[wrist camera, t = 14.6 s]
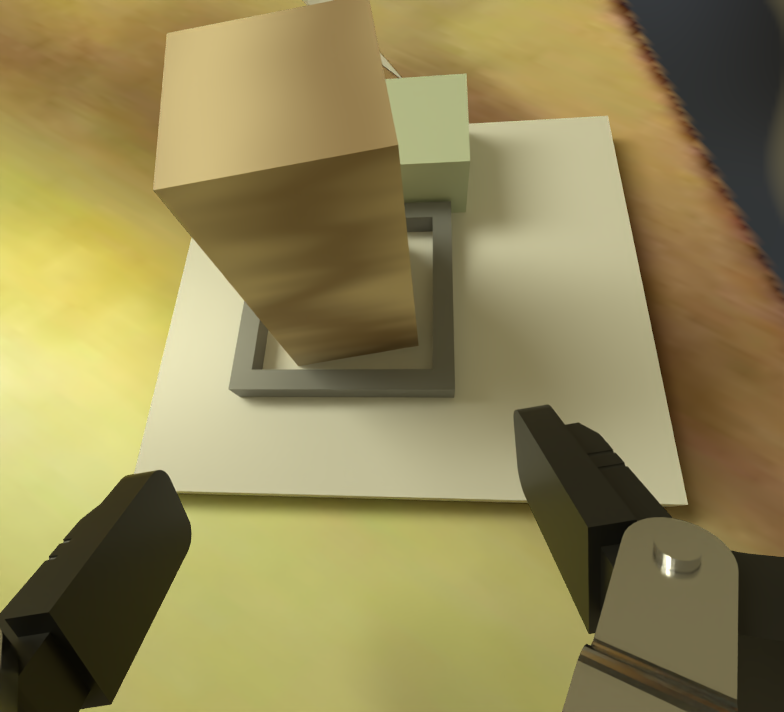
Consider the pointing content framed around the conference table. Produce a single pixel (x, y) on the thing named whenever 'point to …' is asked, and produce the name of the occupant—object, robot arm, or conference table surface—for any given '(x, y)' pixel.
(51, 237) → the conference table surface
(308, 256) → the maple block
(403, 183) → the pale green block
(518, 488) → the board
